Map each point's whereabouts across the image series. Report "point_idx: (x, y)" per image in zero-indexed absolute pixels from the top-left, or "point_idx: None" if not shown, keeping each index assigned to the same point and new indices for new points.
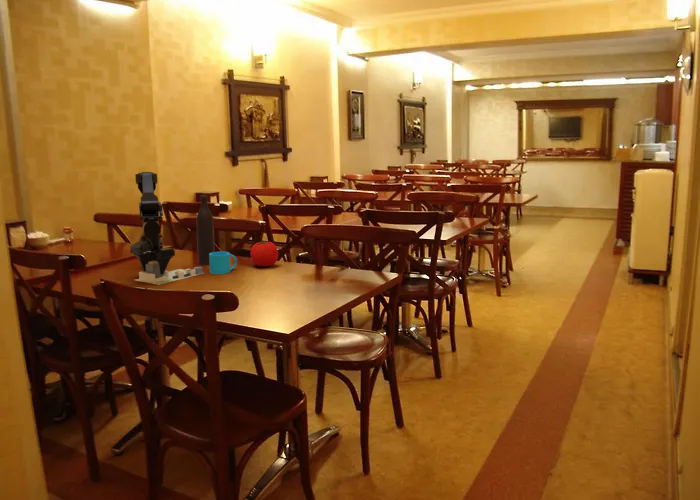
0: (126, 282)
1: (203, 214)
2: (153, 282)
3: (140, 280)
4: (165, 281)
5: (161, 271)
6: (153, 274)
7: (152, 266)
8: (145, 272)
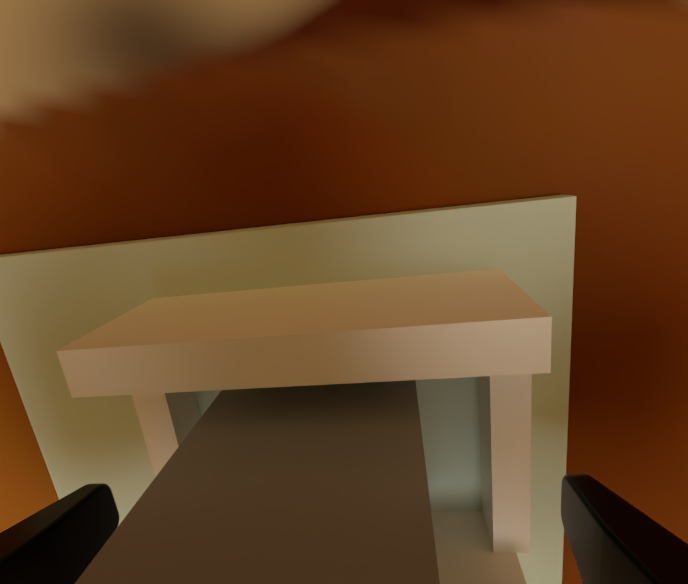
0: (625, 56)
1: None
2: (148, 294)
3: (427, 245)
4: (93, 424)
5: (19, 529)
6: (63, 362)
7: (92, 563)
8: (366, 378)
